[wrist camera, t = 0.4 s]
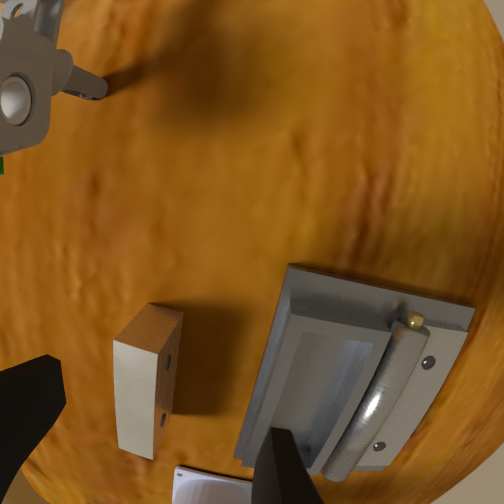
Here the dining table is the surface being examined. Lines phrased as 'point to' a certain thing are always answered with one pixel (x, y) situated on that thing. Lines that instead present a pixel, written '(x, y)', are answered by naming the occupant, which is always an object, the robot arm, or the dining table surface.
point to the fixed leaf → (350, 370)
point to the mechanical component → (35, 72)
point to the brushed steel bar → (146, 377)
